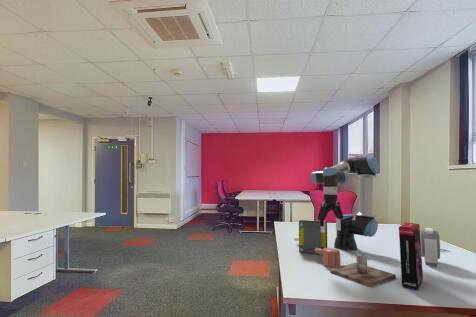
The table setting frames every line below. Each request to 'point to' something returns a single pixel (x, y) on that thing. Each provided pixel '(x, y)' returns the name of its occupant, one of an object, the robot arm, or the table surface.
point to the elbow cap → (329, 256)
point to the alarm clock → (430, 246)
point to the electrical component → (311, 236)
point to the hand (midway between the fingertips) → (330, 231)
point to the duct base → (361, 277)
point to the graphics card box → (410, 255)
